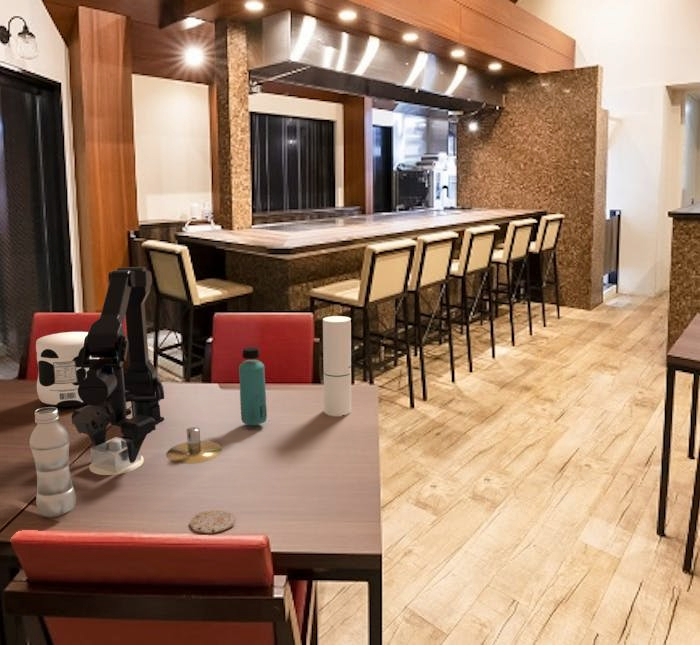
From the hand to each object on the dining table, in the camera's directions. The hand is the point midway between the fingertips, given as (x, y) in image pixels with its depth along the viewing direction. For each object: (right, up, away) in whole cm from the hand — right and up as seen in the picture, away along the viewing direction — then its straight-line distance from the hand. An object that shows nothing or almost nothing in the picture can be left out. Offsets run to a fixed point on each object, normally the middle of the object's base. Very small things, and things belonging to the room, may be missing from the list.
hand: (116, 458), depth 136 cm
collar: (0, -1, 0) cm, 1 cm away
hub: (+15, -1, +6) cm, 16 cm away
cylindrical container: (+47, +5, +32) cm, 57 cm away
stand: (0, -2, 0) cm, 2 cm away
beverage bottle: (+26, +3, +23) cm, 35 cm away
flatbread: (+25, -7, -22) cm, 34 cm away
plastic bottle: (-4, -6, -18) cm, 20 cm away
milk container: (-27, +7, +41) cm, 50 cm away
